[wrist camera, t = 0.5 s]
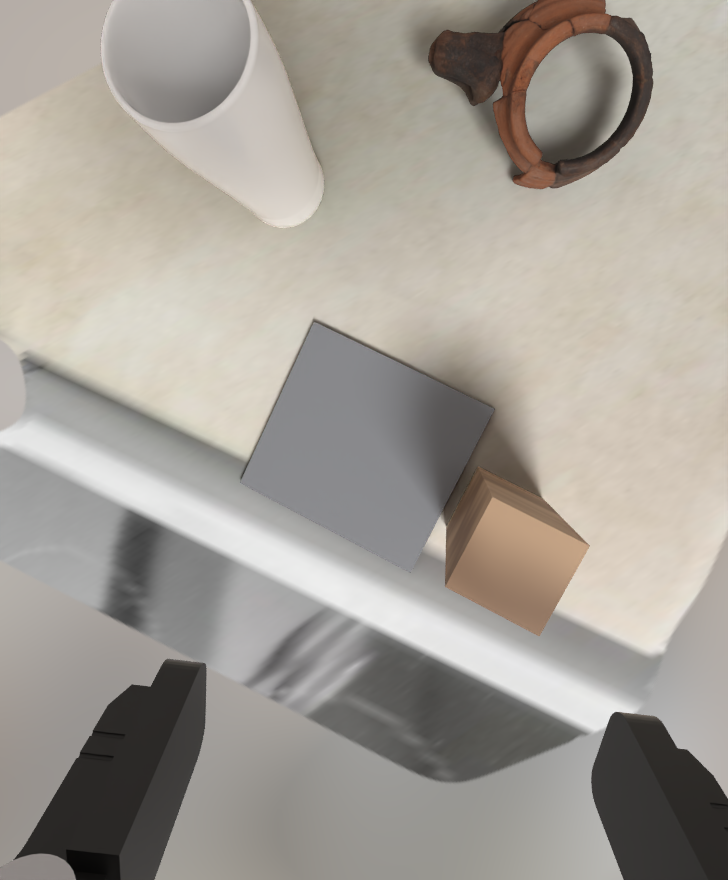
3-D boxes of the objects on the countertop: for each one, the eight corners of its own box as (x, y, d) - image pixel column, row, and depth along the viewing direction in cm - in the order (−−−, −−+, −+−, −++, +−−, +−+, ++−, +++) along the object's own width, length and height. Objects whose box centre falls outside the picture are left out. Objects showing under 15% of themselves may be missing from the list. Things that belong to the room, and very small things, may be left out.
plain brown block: (478, 466, 36) (492, 496, 24) (542, 498, 35) (589, 545, 23) (446, 526, 36) (445, 586, 24) (509, 559, 36) (539, 636, 24)
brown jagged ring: (627, 18, 33) (705, -1, 26) (573, 188, 38) (626, 210, 31) (432, -21, 32) (459, -52, 25) (402, 161, 37) (418, 177, 30)
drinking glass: (220, 211, 37) (68, 83, 22) (269, 117, 36) (144, -81, 21) (304, 260, 36) (206, 162, 22) (356, 166, 35) (290, -4, 21)
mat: (315, 322, 37) (314, 321, 36) (494, 408, 35) (494, 408, 35) (241, 481, 38) (239, 482, 38) (410, 570, 37) (410, 572, 36)
